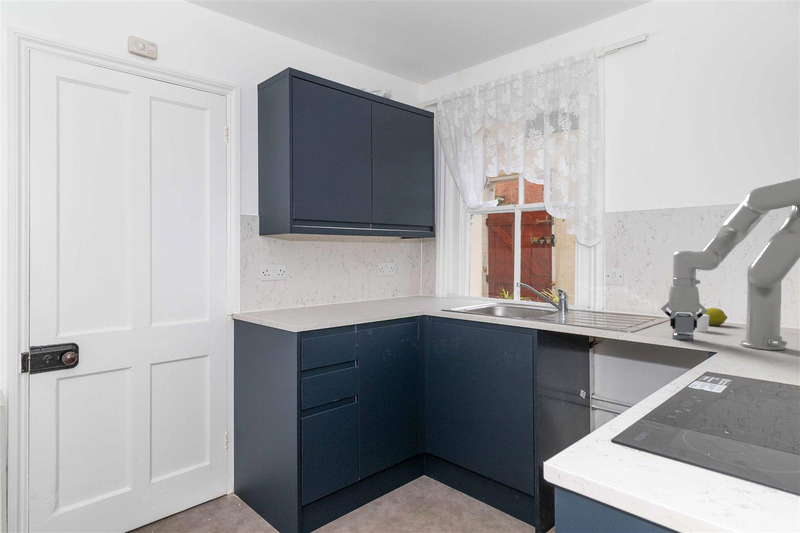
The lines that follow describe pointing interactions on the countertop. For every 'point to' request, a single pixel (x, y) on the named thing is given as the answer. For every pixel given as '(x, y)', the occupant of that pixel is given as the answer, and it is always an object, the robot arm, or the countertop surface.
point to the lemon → (716, 316)
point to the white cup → (702, 323)
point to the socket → (684, 323)
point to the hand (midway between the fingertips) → (683, 328)
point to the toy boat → (682, 336)
